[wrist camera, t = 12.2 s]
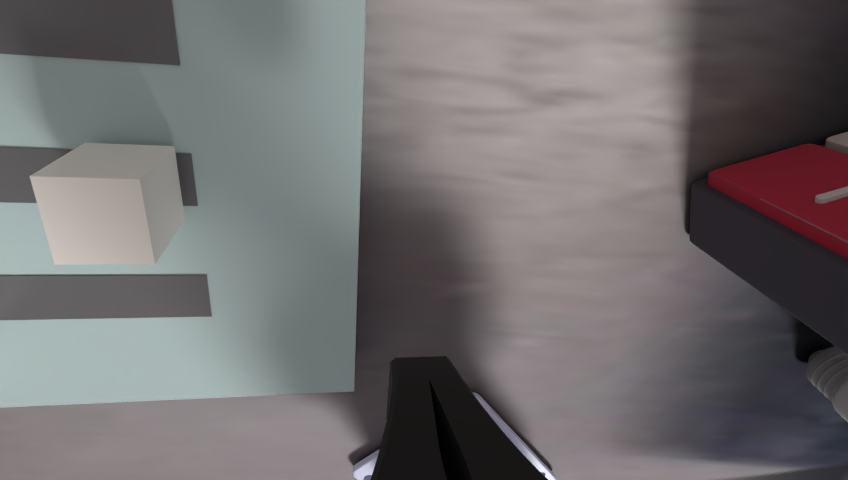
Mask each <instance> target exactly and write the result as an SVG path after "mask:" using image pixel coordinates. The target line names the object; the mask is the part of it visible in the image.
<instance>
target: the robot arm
mask: <svg viewBox="0 0 848 480" xmlns="http://www.w3.org/2000/svg"><path fill="white" fill-rule="evenodd" d="M353 476H354V477H355V478H356V479H357V480H557V479H556V477H555V475H554V474H553V472H552V471H551V470H550V469H549V468H548V467H547V466H546V465H545V464H544V463H543V462H542V461H541V460H540V459H539V458H538V457H537V456H536V454H535V453H534V452H533V451H532V450H531V449H530V448H529V447H528V446H527V445H526V444H525V443H524V442H523V441H522V440H521V439H520V438H519V436H518V435H517V434H516V433H515V432H514V431H513V430H512V429H511V428H510V427H509V426H508V425H507V424H506V423H505V422H504V421H503V420H502V418H501V417H500V416H499V415H498V414H497V413H496V412H495V411H494V410H493V409H492V408H491V407H490V406H489V405H488V404H487V403H486V401H485V400H484V399H483V398H482V397H481V396H480V395H479V394H477V393H474V392H471V390H470V389H469V387H468V386H467V385H466V383H465V382H464V380H463V379H462V378H461V376H460V375H459V373H458V372H457V370H456V369H455V367H454V366H453V364H452V363H451V361H450V360H449V359H448V358H447V357H446V356H439V357H410V358H395V359H394V360H392V361H391V362H390V376H389V390H388V404H387V422H386V427H385V431H384V435H383V439H382V442H381V446H380V449H379V450H377V451H375V452H374V453H372V454H371V455H369V456H368V457H366V458H364V459H363V460H361V461H360V462H358V463H357V464H355V465H354V467H353Z"/></svg>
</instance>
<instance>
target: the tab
mask: <svg viewBox="0 0 848 480" xmlns="http://www.w3.org/2000/svg"><path fill="white" fill-rule="evenodd" d="M29 177H30V180H31V184H32V187H33V191H34V194H35V198H36V201H37V205H38V208H39V212H40V215H41V219H42V222H43V226H44V229H45V233H46V236H47V240H48V243H49V247H50V251H51V254H52V258H53V261H54V265H155V264H156V262H157V261H158V259H159V258H160V256H161V255H162V253H163V252H164V250H165V249H166V247H167V246H168V244H169V243H170V241H171V240H172V238H173V237H174V235H175V234H176V232H177V231H178V229H179V228H180V227H181V225H182V224H183V222H184V221H185V217H184V210H183V203H182V196H181V189H180V182H179V175H178V168H177V161H176V154H175V147H174V146H158V145H132V144H106V143H84V144H82V145H80V146H79V147H77V148H75V149H74V150H72V151H70V152H69V153H67V154H65V155H64V156H62V157H60V158H59V159H57V160H55V161H54V162H52V163H51V164H49V165H47V166H46V167H44V168H42V169H41V170H39V171H37V172H36V173H34V174H32V175H31V176H29Z"/></svg>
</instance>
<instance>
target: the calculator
mask: <svg viewBox="0 0 848 480" xmlns="http://www.w3.org/2000/svg"><path fill="white" fill-rule="evenodd" d="M690 241H691V242H692V243H693V244H694V245H696V246H697V247H698V248H700V249H701V250H703V251H704V252H705V253H707V254H708V255H710V256H711V257H712V258H714V259H715V260H717V261H718V262H719V263H721V264H722V265H724V266H725V267H726V268H728V269H729V270H730V271H732V272H733V273H735V274H736V275H737V276H739V277H740V278H742V279H743V280H744V281H746V282H747V283H749V284H750V285H751V286H753V287H754V288H755V289H757V290H758V291H760V292H761V293H762V294H764V295H765V296H767V297H768V298H769V299H771V300H772V301H774V302H775V303H776V304H778V305H779V306H781V307H782V308H783V309H785V310H786V311H787V312H789V313H790V314H792V315H793V316H794V317H796V318H797V319H799V320H800V321H801V322H803V323H804V324H806V325H807V326H808V327H810V328H811V329H813V330H814V331H815V332H817V333H818V334H819V335H821V336H822V337H824V338H825V339H826V340H828V341H829V342H831V343H832V344H833V345H835V346H836V347H838V348H839V349H840V350H842V351H843V352H845V353H846V354H847V355H848V132H845V133H841V134H838V135H834V136H831V137H828V138H827V139H826V142H825V145H821V146H819V145H815V144H803V145H799V146H796V147H792V148H789V149H785V150H782V151H778V152H775V153H771V154H768V155H764V156H761V157H757V158H754V159H750V160H747V161H743V162H740V163H736V164H733V165H729V166H726V167H722V168H719V169H715V170H713V171H710V172H709V176H708V178H706V179H702V180H699V181H696V182H694V183H693V184H692V186H691V206H690Z"/></svg>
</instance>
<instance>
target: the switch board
mask: <svg viewBox="0 0 848 480" xmlns="http://www.w3.org/2000/svg"><path fill="white" fill-rule="evenodd" d="M365 13H366V0H0V407H22V406H45V405H67V404H89V403H111V402H133V401H155V400H178V399H200V398H222V397H244V396H266V395H288V394H311V393H333V392H354V380H355V346H356V313H357V280H358V246H359V213H360V180H361V146H362V113H363V80H364V47H365ZM84 143H106V144H132V145H158V146H174V147H175V154H176V161H177V168H178V175H179V182H180V189H181V196H182V203H183V210H184V217H185V221H184V222H183V224H182V225H181V227H180V228H179V229H178V231H177V232H176V234H175V235H174V237H173V238H172V240H171V241H170V243H169V244H168V246H167V247H166V249H165V250H164V252H163V253H162V255H161V256H160V258H159V259H158V261H157V262H156V264H155V265H54V261H53V258H52V254H51V251H50V247H49V243H48V240H47V236H46V233H45V229H44V226H43V222H42V219H41V215H40V212H39V208H38V205H37V201H36V198H35V194H34V191H33V187H32V184H31V180H30V177H29V176H31V175H32V174H34V173H36V172H37V171H39V170H41V169H42V168H44V167H46V166H47V165H49V164H51V163H52V162H54V161H55V160H57V159H59V158H60V157H62V156H64V155H65V154H67V153H69V152H70V151H72V150H74V149H75V148H77V147H79V146H80V145H82V144H84Z"/></svg>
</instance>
